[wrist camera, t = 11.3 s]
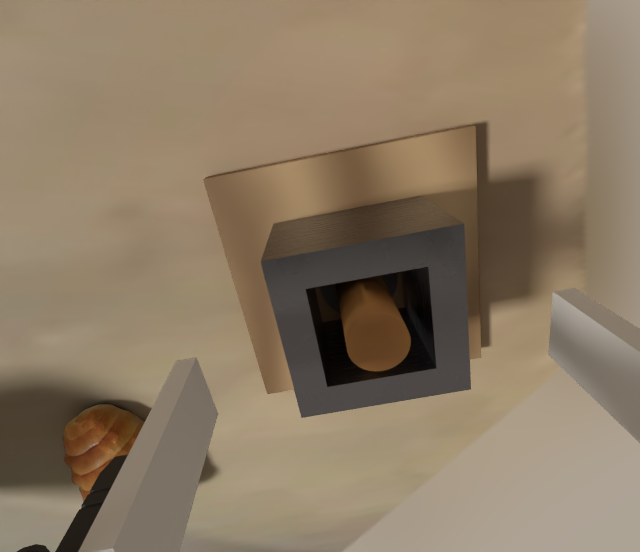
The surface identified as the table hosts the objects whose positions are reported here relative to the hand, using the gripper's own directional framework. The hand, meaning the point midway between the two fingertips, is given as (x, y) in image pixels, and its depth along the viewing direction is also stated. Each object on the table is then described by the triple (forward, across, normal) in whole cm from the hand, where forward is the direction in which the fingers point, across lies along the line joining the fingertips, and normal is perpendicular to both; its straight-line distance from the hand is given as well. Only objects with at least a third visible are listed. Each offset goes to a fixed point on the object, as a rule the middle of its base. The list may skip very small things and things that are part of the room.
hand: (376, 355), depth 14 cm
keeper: (+9, 0, 0) cm, 9 cm away
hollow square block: (+8, 0, 0) cm, 8 cm away
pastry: (+10, -18, -12) cm, 24 cm away
